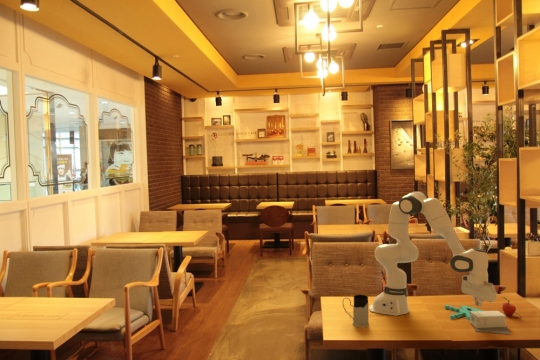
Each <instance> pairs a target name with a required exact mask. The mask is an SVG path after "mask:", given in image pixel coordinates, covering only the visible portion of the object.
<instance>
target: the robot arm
mask: <svg viewBox="0 0 540 360" xmlns="http://www.w3.org/2000/svg"><path fill="white" fill-rule="evenodd" d="M417 214H418V215H419V214H423V215H424V217H425V219H426V221H427V223H428V225H429V227H430V228H431V230H432V231H433V232H434V233H436V234H438V235H439V236H441V237H443V238H444V241H446V243H447V245H448V247H449V248H450V250H451V252H452V256H451V258H450V261H449V264H450V267H451V269H452V270H453V271H454V272H456V273H469V274H465V275H462V276H461V292H462V293H463V294H465V295H469V296H472V298H473V300H474V305H475V306H476V307H483V302H484V301H485V302H489V303H495V302H496V301H497V291H496V286H495V285H494V284H493V283H492V282H489V273H488V268H489V257H488V252H486V250H485V249H482V248H480V247H471V248H470V249H468V250H467V249H466V248H465V247H464V246H463V244H462V242H461V240H460V239H459V237H458V235H457V233H456V232H455V229H454V225H453V224H452V221H451V220H452V219H451V218H450V216H449V214H448V212H447V210H446V209H445V207H444V205H443V203H442V202H441V201H440V199H438V198H436V197H429V196H428V194H427V193H426V192H424V191H422V190H415V191H412V192H409V193H408V194H406V195H404V196H402V197H401V198H400V200H399V201H395V202H393V203H392V204H391V206H390V211H389V215H388V224H387V225H388V227H387V228H388V229H387V232H388V235H389V237H391V238H393V239H395V240H396V243H384V244H381V245H378V246H376V248H375V249H374V252H373V253H374V258H375V260H376V261H377V262H378V263H379V264H380V265H381V266H382V267H383V269H384V270H385V275H386V284H383V285H382V292H380V294H378V295H377V296H375V297H374V299H373V303H372V304H370V305H369V307H368V311H370V312H371V313H376V314H382V315H383V314H384V315H389V316H397V317H398V316H400V315H406V314H408V313H409V312H410V309H409V304H408V298H407V297H408V286H407V273H406V272H405V271H404V270H403V269H402V268H399V267H398V264H402V263H403V264H405V263H411V262H412V263H413V262H415V261H417V260H418V258H419V255H420V252H419V251H420V250H419V248H418V247H417V245H416V244H414V243H413V242H412V240H411V239H410V235H409V224H410V223H409V221H410V215H417Z"/></svg>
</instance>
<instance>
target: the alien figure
mask: <svg viewBox="0 0 540 360" xmlns="http://www.w3.org/2000/svg"><path fill="white" fill-rule="evenodd" d="M444 310H449V311H453V312H454V313H453V314H449V319H450V320H456V319H459V318H463V317H465V318H466V319H467V321H470V311H485V309H480V308H475V307H473V306H471V307H470V306H469V305H460V308H459V307H454V306H453V305H449V304H444Z"/></svg>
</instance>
